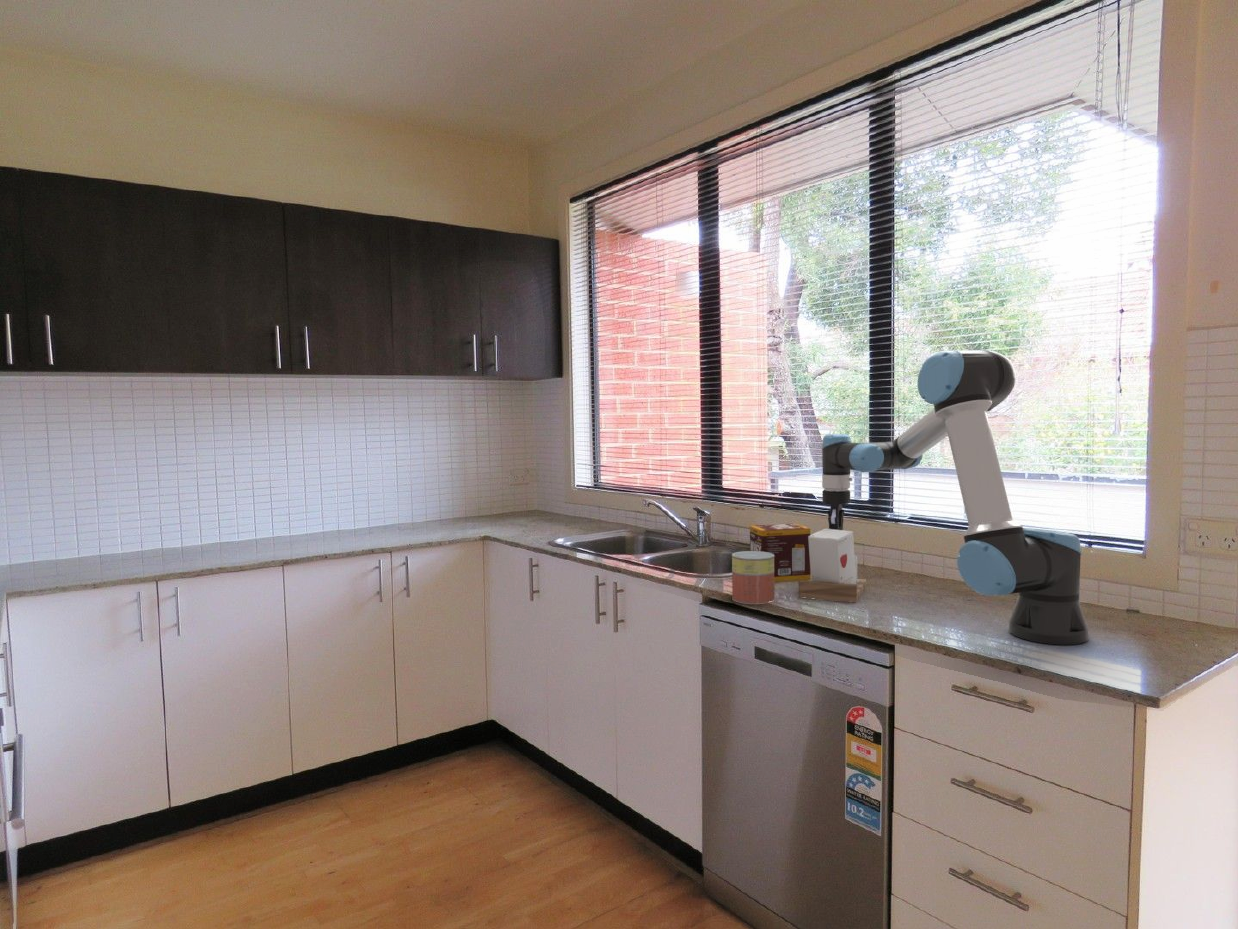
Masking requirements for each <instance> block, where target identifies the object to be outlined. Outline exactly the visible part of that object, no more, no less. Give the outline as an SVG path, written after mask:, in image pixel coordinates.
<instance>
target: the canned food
mask: <svg viewBox="0 0 1238 929" xmlns="http://www.w3.org/2000/svg"><path fill="white" fill-rule="evenodd" d="M774 556H775V555H774V554H772V553H769V552H763V551H750V550H742V551H736V552H733V553H732V554H731V573H732V574H731V577H732V578H731V582H732V584H731V586H732V587H731V588H732V589H731V590H732V591H731V594H732V597H731V600H733V602H735V603H740V604H745V605H766V604H769V603H768V602H769V601H773V600H774V598H775V582H774ZM774 601H775V600H774ZM774 601H773V602H774Z"/></svg>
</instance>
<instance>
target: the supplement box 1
mask: <svg viewBox="0 0 1238 929" xmlns="http://www.w3.org/2000/svg"><path fill="white" fill-rule="evenodd" d="M810 535H811V528H810V527H807V526H804V525H801V524H798V523H795V522H793V523H780V524H779V523H778V524H760V525H758V524H755V525H749V551H763V552H769V553H772V554H774V555H775V556H774V583H779V582H780V583H781V582H782V581H783V582H791V581H792V582H795V581H796V582H797V581H799V580H804V581H809V580H810V579H811V570H810V556H809V541H808V536H810Z"/></svg>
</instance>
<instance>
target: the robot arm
mask: <svg viewBox="0 0 1238 929" xmlns="http://www.w3.org/2000/svg"><path fill="white" fill-rule="evenodd" d="M921 366H922V367H921V369H920V370H919V372H918V376H917V390H918V394H919V396H920V398H921V399H922V400H924V402H925V403H928V404H930V405H933V409H931V411H929V412H928V413H926V415H924V416H923V417H922V418H920V419H919V420H918V421H916V422H915V423H914V424H912V425H911V426H910V427H909V428H907V429H906V430H905V431H904V432H903V433H901V434H900V435H899V436H898V437H896V438H895V439H894V440H892V441H880V442H879V441H877V442H875V441H873V442H852V441H851V436H850V435H849V434H845V433H841V434H840V433H839V434H835V433H832V434H831V433H830V434H825V435H824V436H823V438H822V447H821V452H822V454H821V456H822V463H821V464H822V477H821V478H822V479H821V485H822V486H821V487H822V489H823V490H822V500H821V501H822V503H823V504H826V505H830V507H829V508H830V509H828V510H827V515H828V517H827V520H828V529H835V530H844V518H845V517H844V515H845V509H843V505H849V504H851V491H850V490H849V489H850V488H851V482H852V481H853V478H852V477H851V471H856V472H861V473H873V472H876V471H884V470H885V471H886V470H907V469H912V468H917V467H918V466H919V465H920V463H921V461H922V460H923V454H925V453H926V452H928V451H929V450H930V449H932V448H933V447H935V446H936V445H937V444H939V443H940V442H941V441H943V440H945V438H947V437H948V441H949V445H950V450H951V455H952V458H953V464H954V466H955V467H954V468H955V471H956V475H957V480H958V485H959V489H960V493H961V498H962V502H963V507H964V511H965V515H966V519H967V524H968V528H967V530H966V531H965V532H964V534H963V540H964V544H962V546H961V547H960V548H959V551H958V553H959V554H957V556H956V557H957V558H956V565H957V569H958V572H959V574H960V577H961V579H962V580H963V581H964V583H965V584H966V585H967V586H968V587H969V588H971V589H972V590H973V591H974V592H975V593H977V594H979V595H983V596H988V597H991V596H992V597H993V596H996V597H1002V596H1008V595H1012V594H1018V596H1017V599H1016V602H1015V604H1014V608H1013V610H1012V613H1011V615H1010V618H1009V621H1008V632H1009V633H1010V634H1011V635H1013V636H1015V637H1017V638H1020V639H1023V640H1026V641H1029V642H1030V641H1031V642H1036V643H1040V644H1049V645H1063V646H1064V645H1080V644H1085V643H1086V642H1088V640H1089V627H1088V624H1087V622H1086V618H1085V616H1084V612H1083V610H1082V606H1081V603H1080V589H1081V588H1080V585H1081V584H1080V583H1081V558H1082V557H1081V556H1082V551H1081V540H1080V538H1079V537H1078V535H1076V534H1073V533H1069V532H1065V531H1064V532H1063V531H1057V530H1048V529H1041V528H1030V527H1023V525H1021V524H1020V523H1018V522H1016V521H1015V520H1014V519H1013V516H1012V512H1011V507H1010V504H1009V500H1008V496H1007V491H1006V488H1005V484H1004V479H1003V476H1002V471H1001V467H1000V462H999V459H998V455H997V450H996V445H995V442H994V437H993V434H992V429H991V426H990V421H989V418H988V414H987V413H988V412H990V411H992V410H993V409H994V408H996V407H998V406H999V405H1000V404H1002V402H1003V401H1005V400H1006V399H1007V398H1008V397H1009V396H1010V395H1011V393H1012V392H1013V390H1014V387H1015V384H1016V378H1017V377H1016V376H1017V375H1016V369H1015V368H1014V364H1013V363H1012V361H1010V359H1008V358H1007V357H1006V356H1005V355H1003V354H1002V353H999V352H997V351H993V350H957V349H949V350H941V351H936V352H935V353H932V354H930V355H929V357H927V358H926V359H925V361H924V362H923V363H922V365H921Z"/></svg>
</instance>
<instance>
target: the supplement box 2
mask: <svg viewBox="0 0 1238 929" xmlns="http://www.w3.org/2000/svg"><path fill="white" fill-rule="evenodd" d="M808 541H809V556H810V570H811V572H810V573H811V581H818V582H832V583H846V584H856V570H855V556H856V555H855V542H854V541H855V540H854V531H853V530H844V529H843V530H835V529H829V528H823V529H822V530H819V531H816V532H814V533H812V534H810V536H808Z"/></svg>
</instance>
